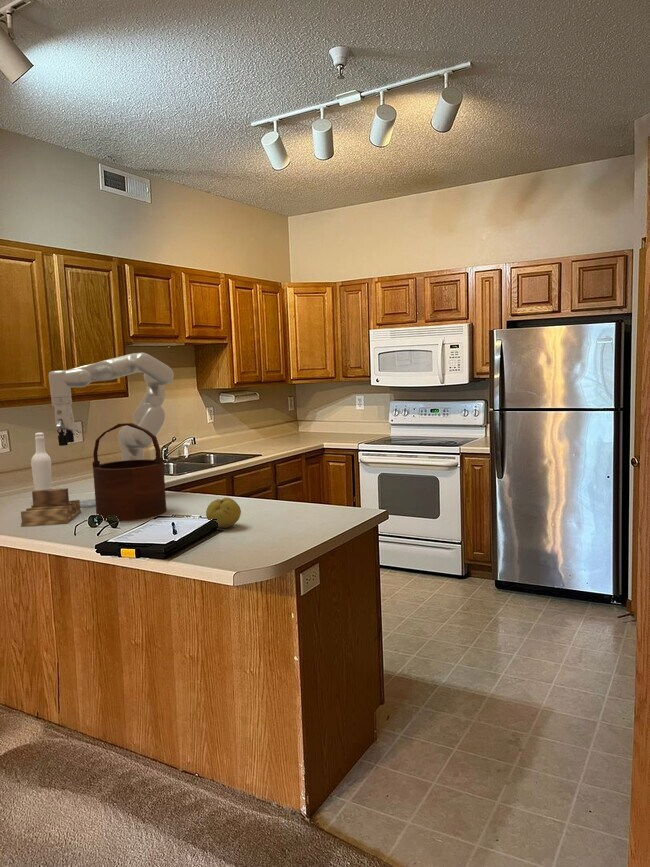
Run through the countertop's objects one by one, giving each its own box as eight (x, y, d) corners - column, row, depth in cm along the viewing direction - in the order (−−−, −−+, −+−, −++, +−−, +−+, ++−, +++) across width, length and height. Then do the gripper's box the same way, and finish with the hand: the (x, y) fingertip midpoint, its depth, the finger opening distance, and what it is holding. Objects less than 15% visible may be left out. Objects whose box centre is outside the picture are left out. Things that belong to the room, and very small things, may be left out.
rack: (81, 512, 241) (80, 499, 241) (67, 523, 223) (66, 509, 223) (38, 515, 240) (37, 502, 239) (21, 526, 222) (20, 512, 221)
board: (70, 514, 234) (67, 488, 233) (67, 515, 231) (65, 489, 230) (37, 516, 232) (34, 490, 231) (34, 517, 229) (32, 491, 228)
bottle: (43, 504, 260) (39, 433, 258) (28, 503, 263) (24, 433, 260) (57, 500, 268) (53, 432, 265) (43, 499, 271) (39, 431, 268)
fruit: (222, 522, 217) (220, 494, 216) (248, 525, 211) (247, 496, 210) (200, 529, 207) (199, 500, 206) (228, 533, 201) (226, 503, 200)
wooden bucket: (106, 508, 248) (100, 422, 245) (171, 504, 251) (166, 419, 247) (88, 523, 223) (80, 427, 219) (160, 519, 225) (154, 424, 221)
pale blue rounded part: (109, 501, 263) (109, 498, 263) (102, 507, 251) (102, 504, 251) (80, 503, 261) (80, 500, 261) (72, 509, 250) (71, 506, 249)
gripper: (65, 402, 237) (70, 446, 239) (77, 399, 254) (81, 440, 256) (45, 403, 236) (50, 447, 238) (58, 400, 253) (62, 441, 255)
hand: (66, 443), depth 247 cm, fingers open, 9 cm apart
